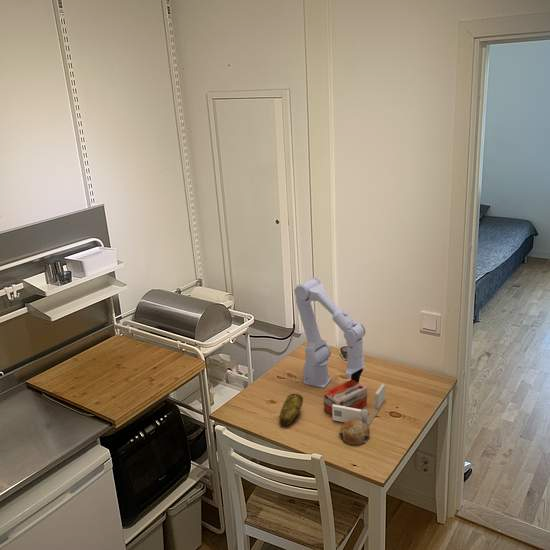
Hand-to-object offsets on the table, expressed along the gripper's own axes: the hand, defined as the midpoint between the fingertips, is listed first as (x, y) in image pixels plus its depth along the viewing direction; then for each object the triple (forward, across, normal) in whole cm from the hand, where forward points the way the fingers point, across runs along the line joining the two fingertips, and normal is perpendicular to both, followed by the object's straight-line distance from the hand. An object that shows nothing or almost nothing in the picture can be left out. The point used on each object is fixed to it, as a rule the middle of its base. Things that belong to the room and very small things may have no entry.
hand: (355, 385), depth 226 cm
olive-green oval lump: (+5, -23, +16) cm, 29 cm away
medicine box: (+5, -9, 0) cm, 10 cm away
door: (+4, -18, -4) cm, 19 cm away
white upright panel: (+5, -8, -10) cm, 14 cm away
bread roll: (+5, -24, -9) cm, 26 cm away
